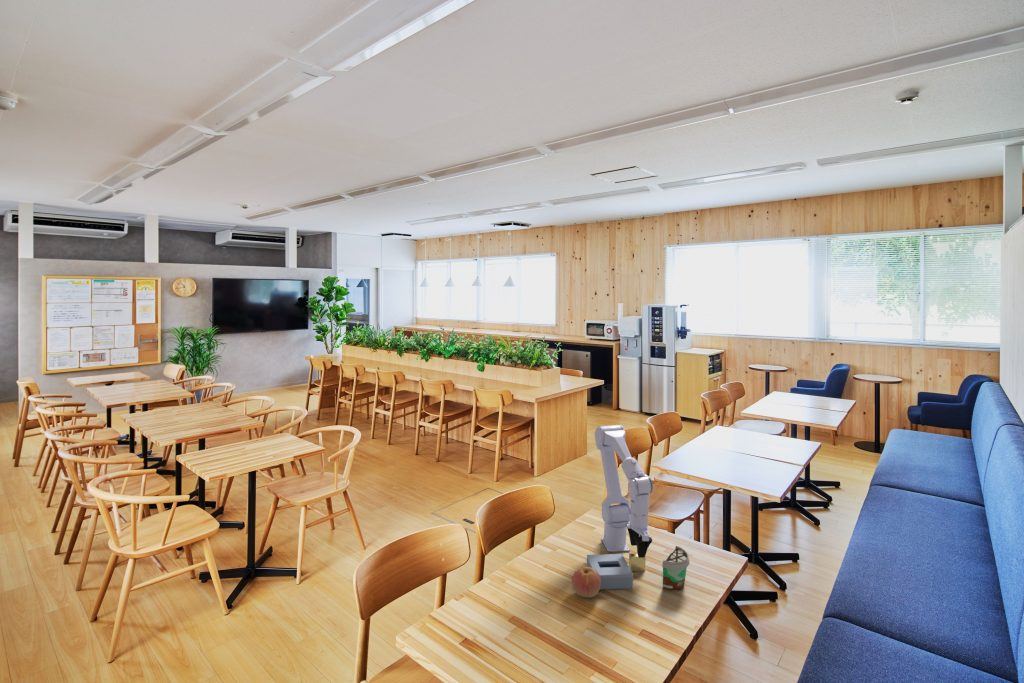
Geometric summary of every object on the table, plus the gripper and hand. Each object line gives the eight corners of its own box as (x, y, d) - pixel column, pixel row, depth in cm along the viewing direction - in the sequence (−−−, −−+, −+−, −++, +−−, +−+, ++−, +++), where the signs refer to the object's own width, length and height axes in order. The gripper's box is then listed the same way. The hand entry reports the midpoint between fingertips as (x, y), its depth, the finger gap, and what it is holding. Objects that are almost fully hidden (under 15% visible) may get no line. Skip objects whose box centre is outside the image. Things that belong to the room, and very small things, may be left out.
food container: (680, 598, 158) (682, 567, 157) (660, 590, 162) (662, 560, 161) (693, 580, 168) (695, 551, 167) (674, 573, 172) (676, 544, 171)
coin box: (586, 568, 174) (586, 554, 173) (621, 567, 175) (622, 553, 174) (595, 590, 162) (595, 575, 161) (632, 588, 163) (633, 574, 162)
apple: (599, 604, 154) (600, 579, 154) (570, 600, 156) (570, 575, 155) (600, 587, 163) (601, 564, 162) (572, 584, 165) (573, 560, 164)
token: (628, 567, 175) (629, 553, 174) (643, 567, 175) (643, 553, 175) (630, 571, 173) (631, 556, 172) (645, 570, 173) (645, 556, 173)
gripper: (621, 503, 179) (619, 540, 180) (634, 522, 164) (632, 563, 166) (641, 502, 179) (639, 539, 181) (656, 522, 165) (654, 562, 166)
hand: (637, 550), depth 173 cm, fingers open, 7 cm apart
